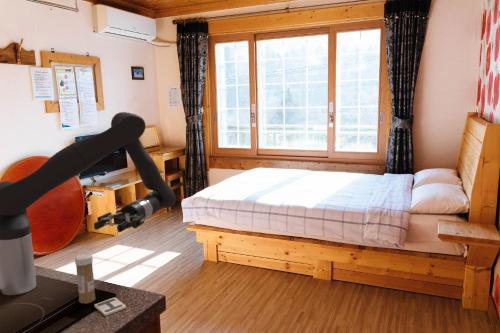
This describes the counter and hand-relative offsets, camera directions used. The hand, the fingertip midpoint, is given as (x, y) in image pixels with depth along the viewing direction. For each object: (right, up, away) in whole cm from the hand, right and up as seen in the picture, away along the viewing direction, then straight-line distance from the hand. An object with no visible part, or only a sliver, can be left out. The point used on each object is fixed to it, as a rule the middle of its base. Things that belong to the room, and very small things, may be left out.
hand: (106, 227), depth 122 cm
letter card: (+5, -20, -11) cm, 24 cm away
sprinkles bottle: (-3, -20, -7) cm, 21 cm away
